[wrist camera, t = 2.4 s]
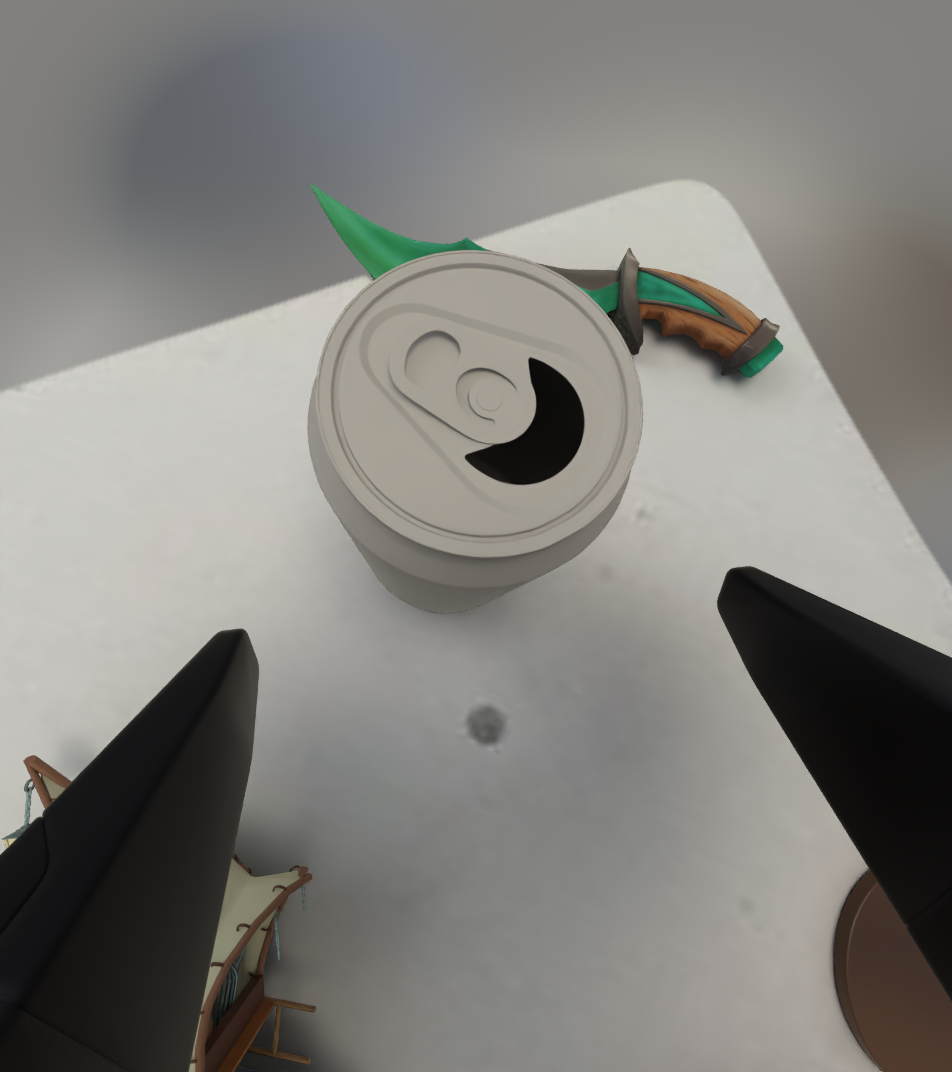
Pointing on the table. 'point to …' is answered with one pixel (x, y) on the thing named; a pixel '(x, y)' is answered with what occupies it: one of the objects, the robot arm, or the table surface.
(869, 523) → the table surface
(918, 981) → the coaster
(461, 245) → the knife
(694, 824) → the table surface
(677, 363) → the table surface
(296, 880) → the figurine
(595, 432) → the beverage can
